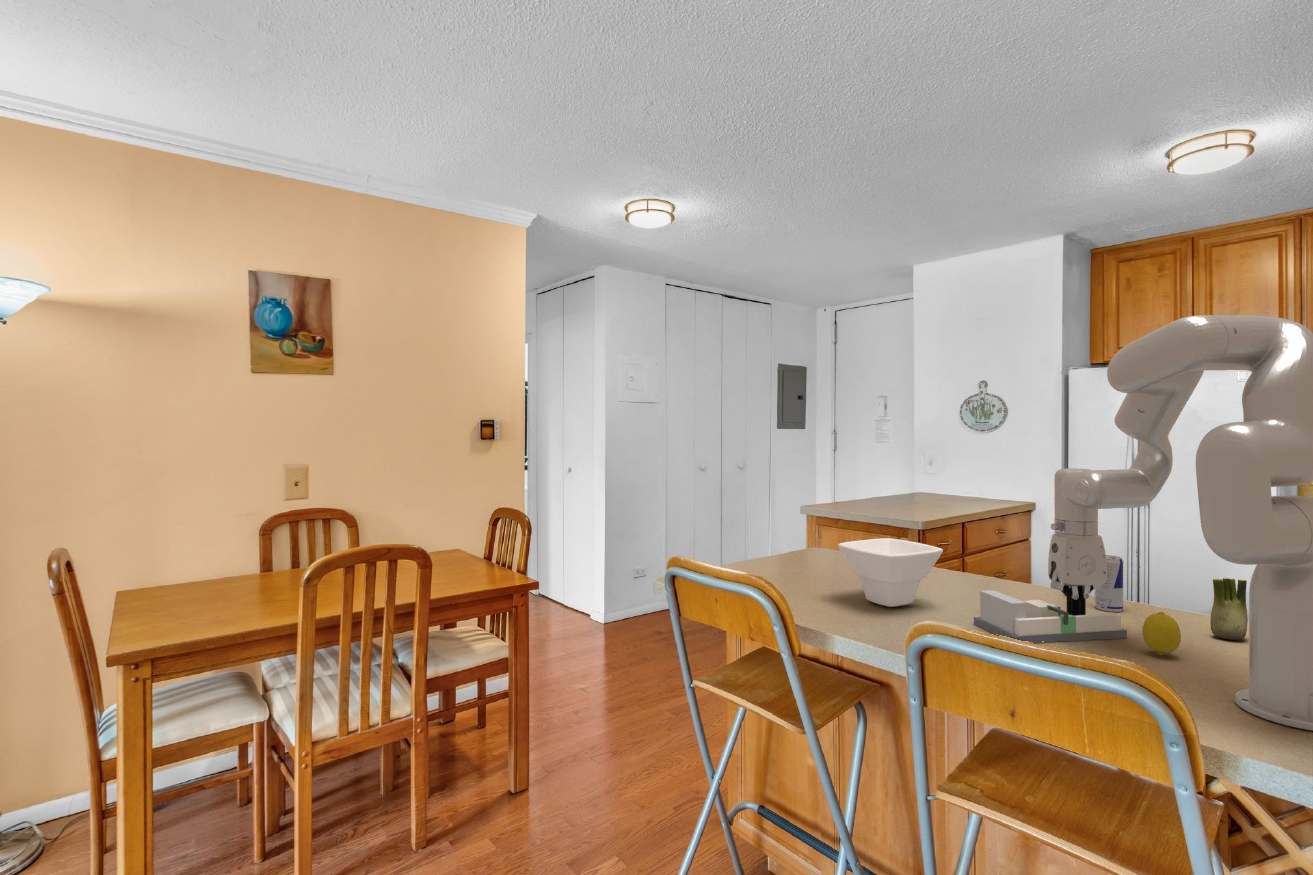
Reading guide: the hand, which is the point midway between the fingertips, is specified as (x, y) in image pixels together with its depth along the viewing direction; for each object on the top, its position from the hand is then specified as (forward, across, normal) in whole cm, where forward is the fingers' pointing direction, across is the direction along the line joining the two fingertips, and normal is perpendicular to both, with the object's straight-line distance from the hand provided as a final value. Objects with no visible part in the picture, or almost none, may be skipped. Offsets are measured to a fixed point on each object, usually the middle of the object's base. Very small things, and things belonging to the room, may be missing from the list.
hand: (1076, 616), depth 133 cm
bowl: (+3, -28, +24) cm, 37 cm away
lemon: (+3, +4, -16) cm, 17 cm away
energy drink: (+3, +18, +12) cm, 22 cm away
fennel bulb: (+3, +24, -10) cm, 27 cm away
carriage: (+1, -8, -2) cm, 8 cm away
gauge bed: (+3, -6, 0) cm, 7 cm away
